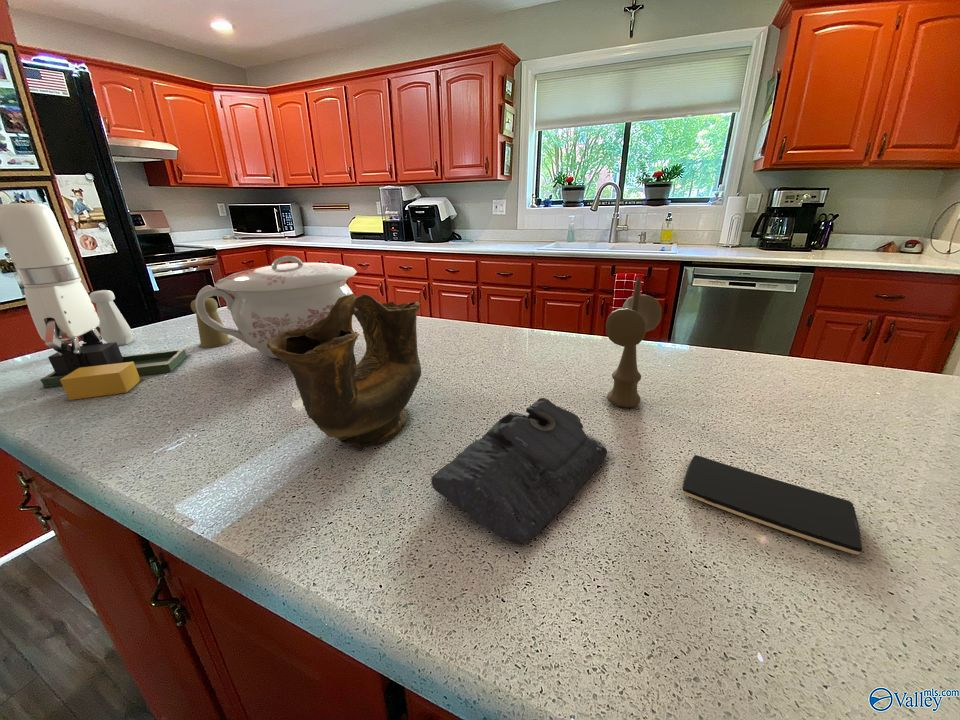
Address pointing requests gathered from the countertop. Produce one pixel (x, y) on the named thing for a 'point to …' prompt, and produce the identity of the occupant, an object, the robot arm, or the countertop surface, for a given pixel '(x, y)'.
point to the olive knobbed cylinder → (207, 333)
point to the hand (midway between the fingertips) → (90, 365)
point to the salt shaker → (111, 318)
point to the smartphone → (775, 503)
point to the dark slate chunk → (521, 471)
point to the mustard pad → (100, 380)
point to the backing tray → (137, 364)
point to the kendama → (630, 343)
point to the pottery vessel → (355, 368)
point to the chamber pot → (276, 299)
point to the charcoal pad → (89, 357)
